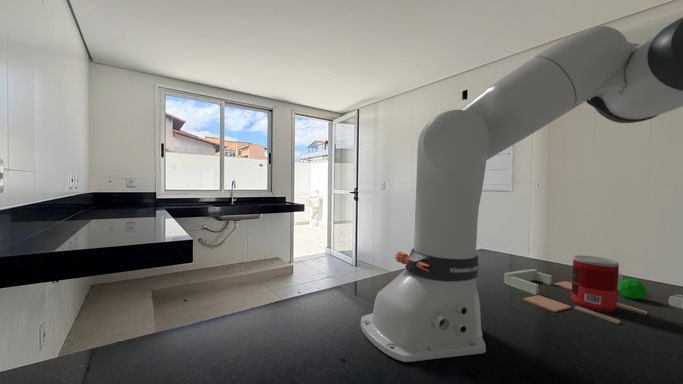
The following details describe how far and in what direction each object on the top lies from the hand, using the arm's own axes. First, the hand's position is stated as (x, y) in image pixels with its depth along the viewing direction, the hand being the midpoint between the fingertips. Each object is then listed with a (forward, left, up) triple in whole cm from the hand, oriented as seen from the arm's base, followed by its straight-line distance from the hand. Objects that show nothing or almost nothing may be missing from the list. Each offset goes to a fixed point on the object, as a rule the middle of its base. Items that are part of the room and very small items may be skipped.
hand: (671, 299), depth 55 cm
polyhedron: (+16, +11, -6) cm, 20 cm away
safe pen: (0, +26, -6) cm, 26 cm away
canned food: (0, +12, -6) cm, 14 cm away
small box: (+21, +18, -6) cm, 28 cm away
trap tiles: (0, +19, -6) cm, 20 cm away
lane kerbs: (0, +11, -6) cm, 13 cm away
